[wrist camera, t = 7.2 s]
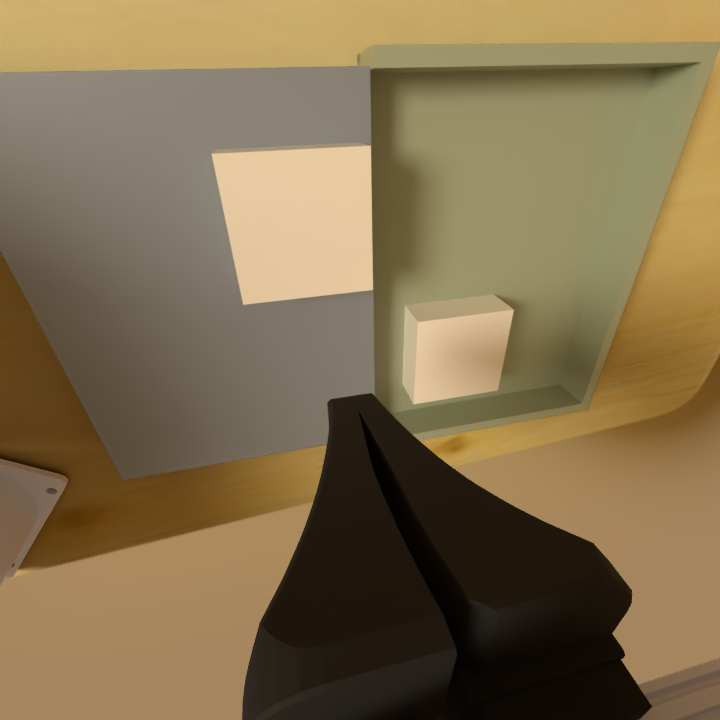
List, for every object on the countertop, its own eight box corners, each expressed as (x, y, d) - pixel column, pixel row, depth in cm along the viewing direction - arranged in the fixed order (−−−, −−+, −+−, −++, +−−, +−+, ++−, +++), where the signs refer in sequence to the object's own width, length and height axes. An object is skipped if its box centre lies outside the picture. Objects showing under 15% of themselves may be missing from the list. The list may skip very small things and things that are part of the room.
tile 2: (402, 383, 23) (413, 404, 21) (405, 305, 20) (418, 322, 18) (481, 371, 24) (497, 390, 22) (493, 294, 21) (513, 309, 19)
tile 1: (244, 285, 16) (243, 304, 15) (217, 149, 13) (211, 153, 12) (362, 273, 17) (372, 289, 15) (358, 142, 14) (371, 145, 13)
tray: (367, 419, 24) (377, 448, 22) (357, 55, 15) (373, 44, 12) (561, 386, 26) (587, 409, 24) (664, 51, 17) (721, 42, 15)
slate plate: (132, 453, 22) (122, 480, 20) (-48, 79, 13) (-94, 74, 11) (367, 413, 24) (375, 435, 22) (357, 71, 15) (370, 66, 13)
